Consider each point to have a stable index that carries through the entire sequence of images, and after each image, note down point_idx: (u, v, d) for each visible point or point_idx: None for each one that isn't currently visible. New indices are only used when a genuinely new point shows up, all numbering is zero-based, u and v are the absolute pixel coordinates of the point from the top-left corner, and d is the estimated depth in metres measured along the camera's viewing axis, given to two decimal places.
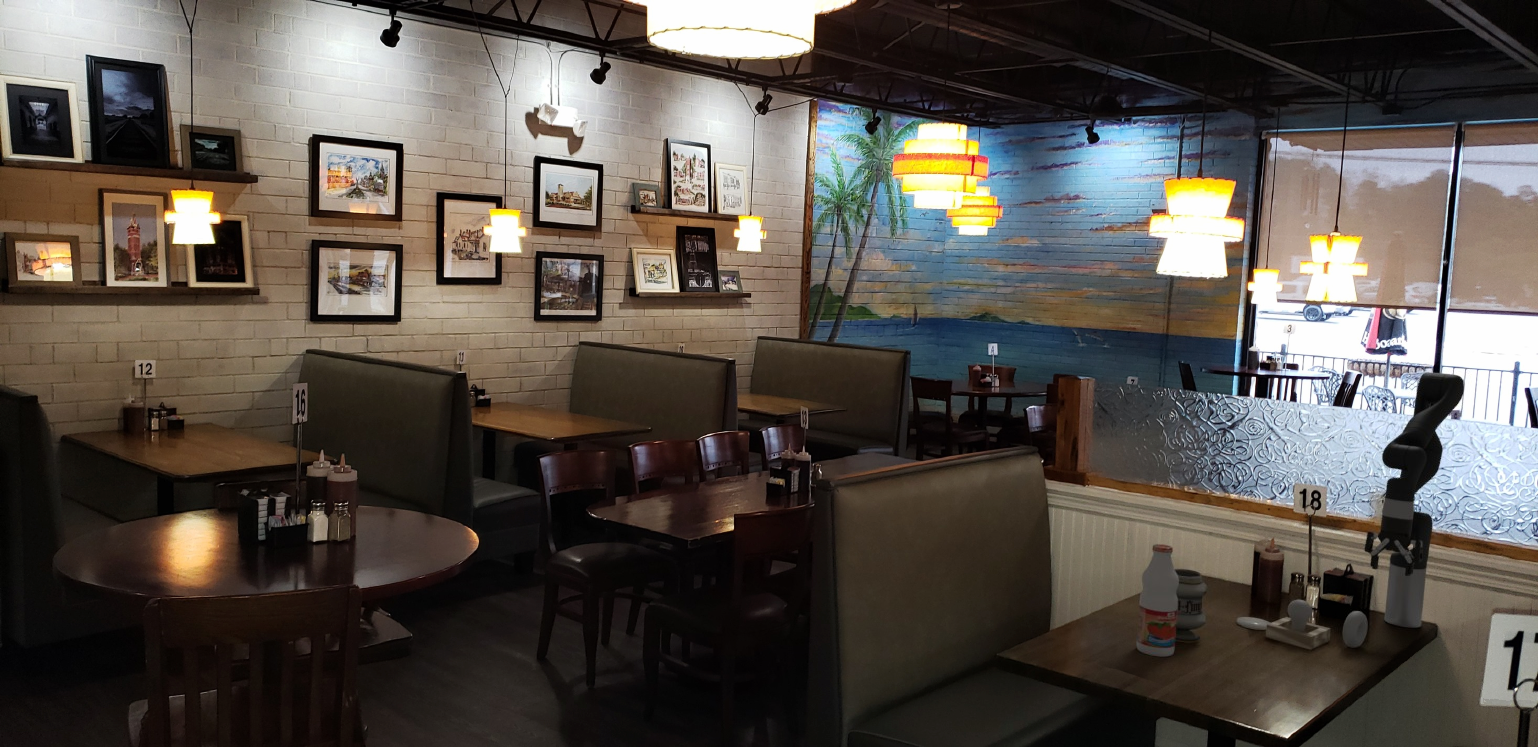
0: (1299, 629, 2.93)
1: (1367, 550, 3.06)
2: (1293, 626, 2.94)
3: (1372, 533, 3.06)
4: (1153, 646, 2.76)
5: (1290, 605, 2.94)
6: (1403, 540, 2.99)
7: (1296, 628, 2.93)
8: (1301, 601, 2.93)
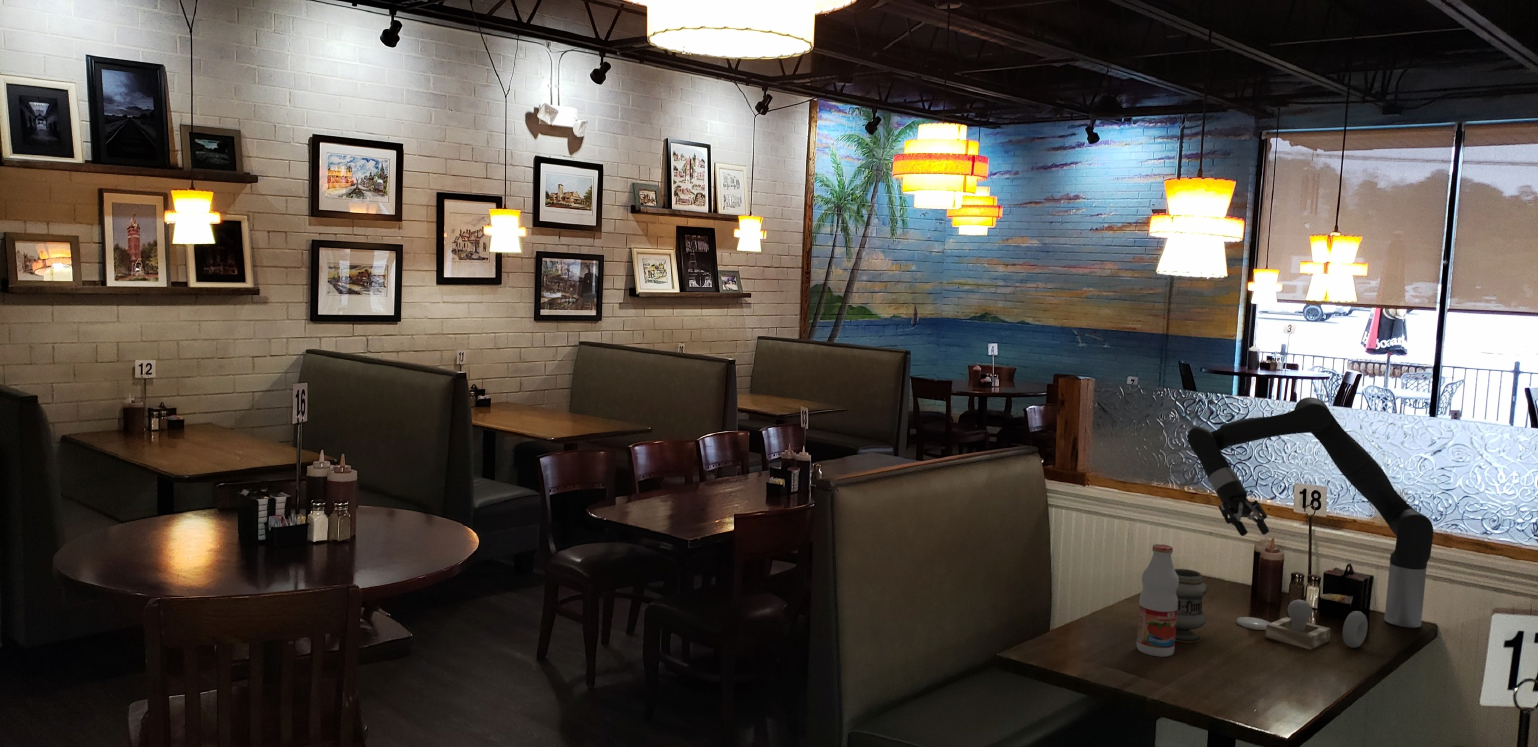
0: (1299, 629, 2.93)
1: None
2: (1293, 626, 2.94)
3: None
4: (1153, 646, 2.76)
5: (1290, 605, 2.94)
6: None
7: (1296, 628, 2.93)
8: (1301, 601, 2.93)
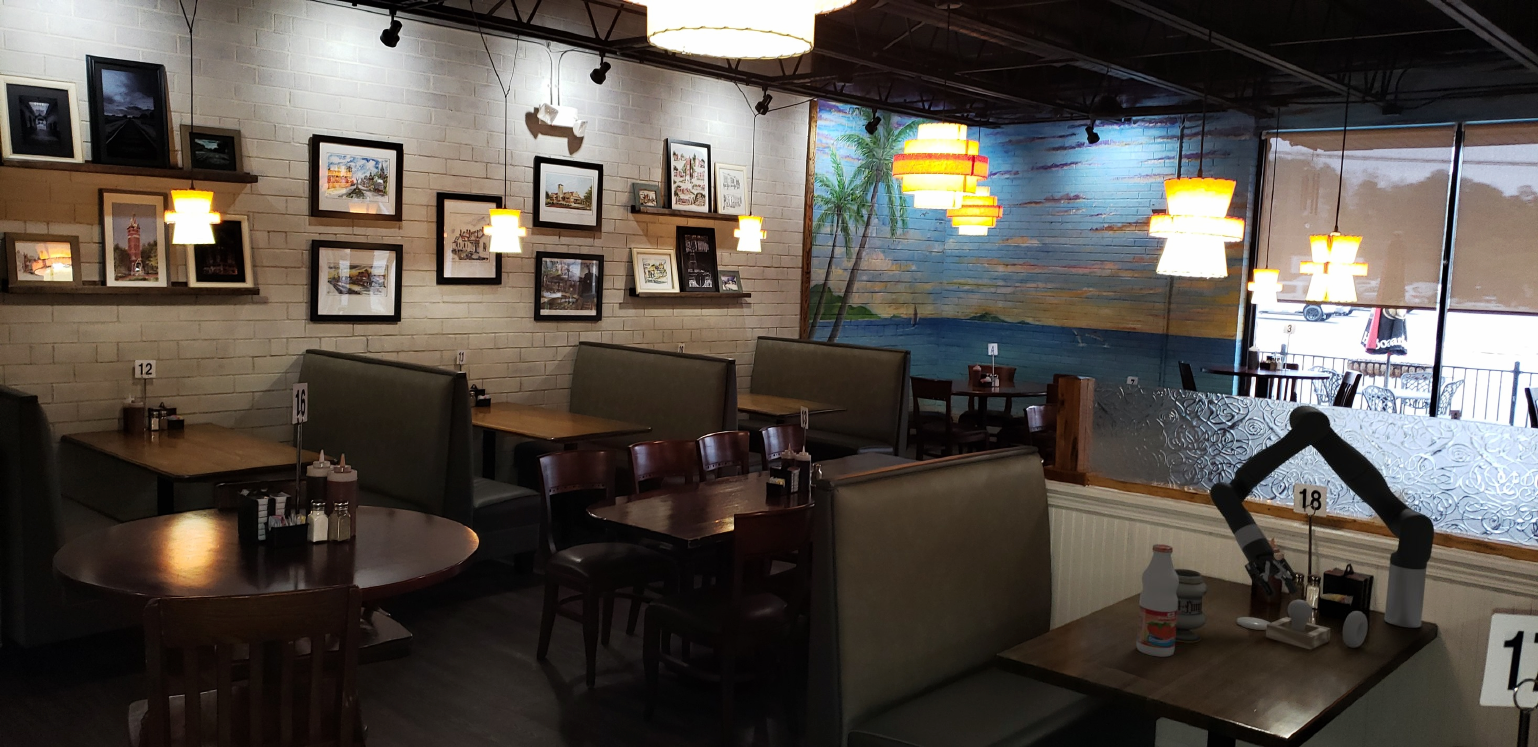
0: (1299, 629, 2.93)
1: None
2: (1293, 626, 2.94)
3: None
4: (1153, 646, 2.76)
5: (1290, 605, 2.94)
6: None
7: (1296, 628, 2.93)
8: (1301, 601, 2.93)
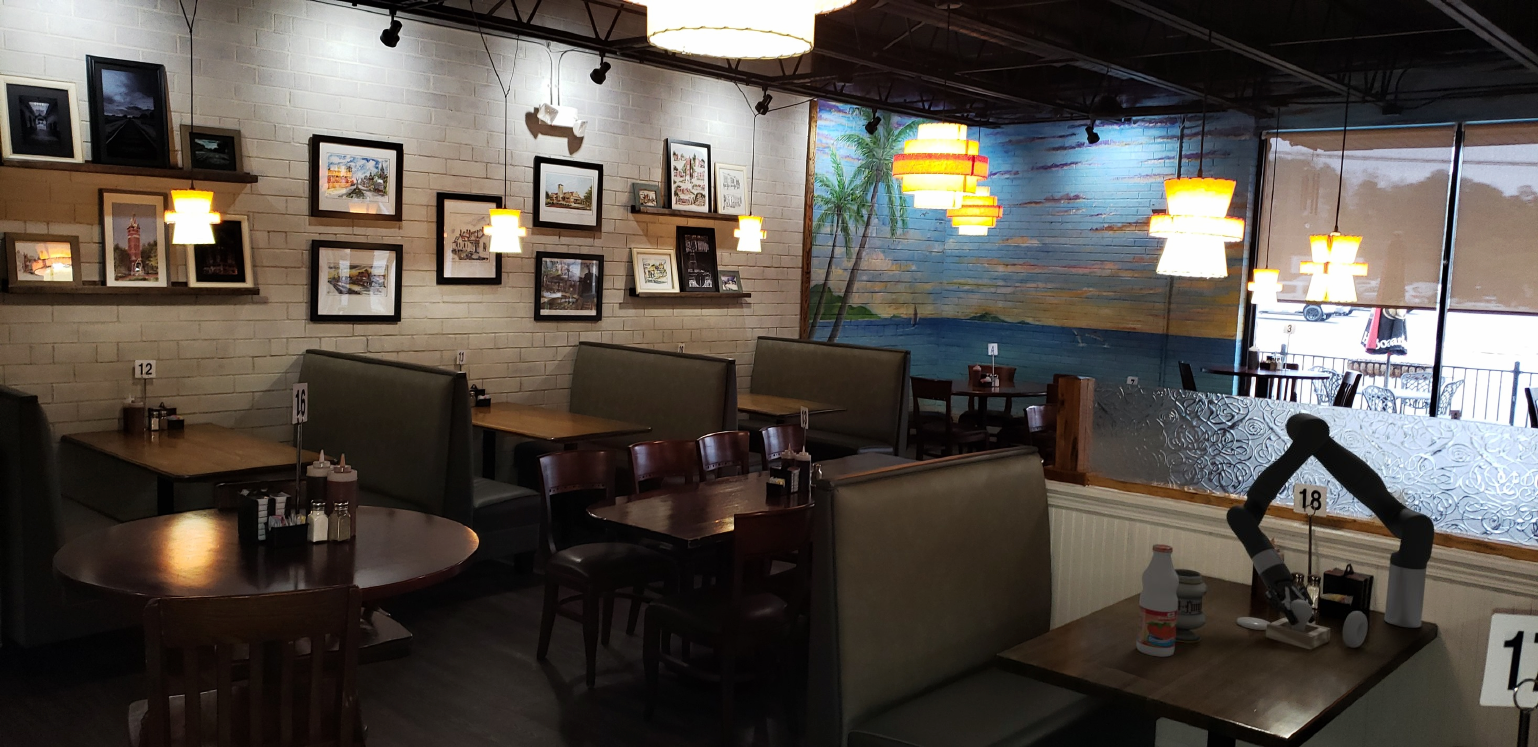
0: (1299, 629, 2.93)
1: None
2: (1293, 626, 2.94)
3: None
4: (1153, 646, 2.76)
5: (1290, 605, 2.94)
6: None
7: (1296, 628, 2.93)
8: (1301, 601, 2.93)
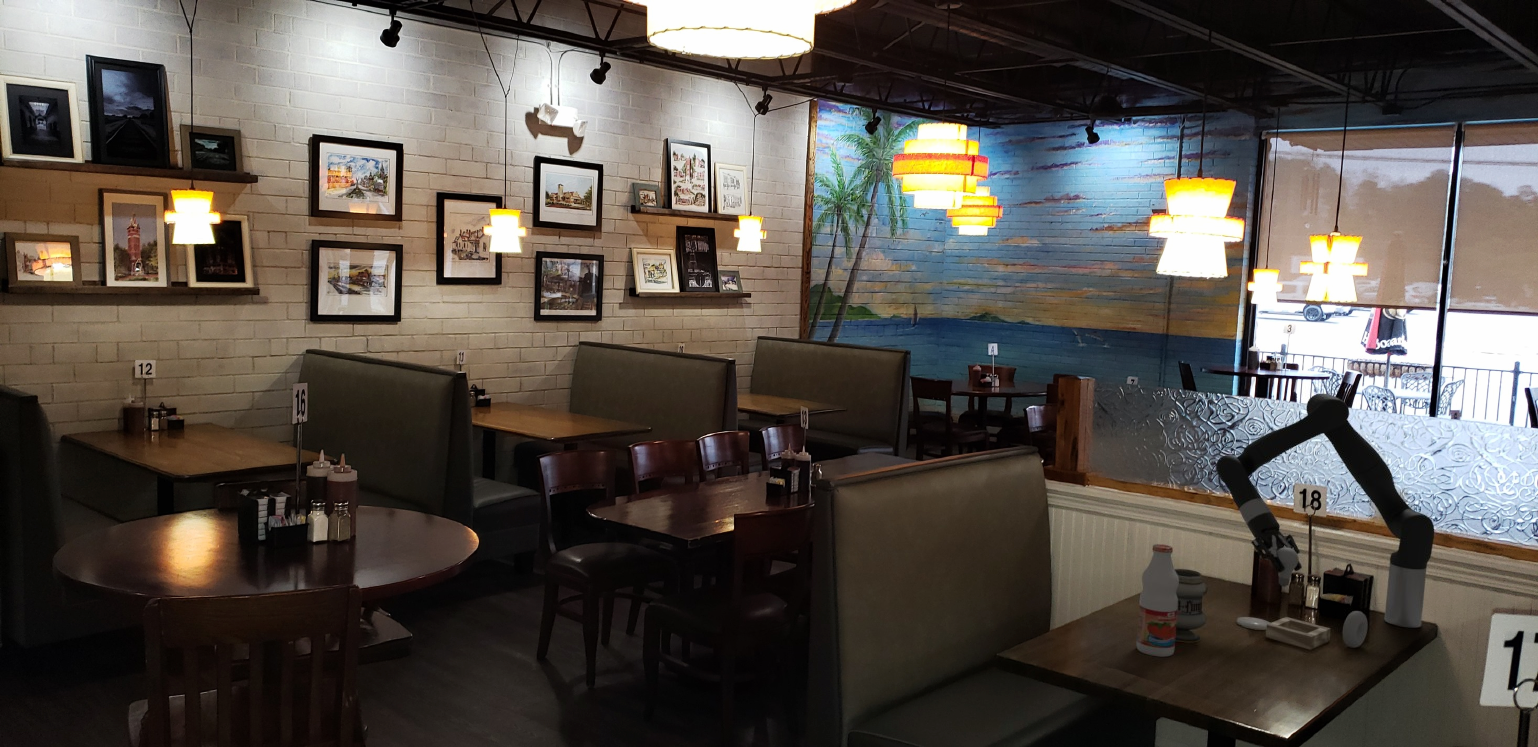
0: (1285, 576, 2.95)
1: None
2: (1279, 573, 2.97)
3: None
4: (1153, 646, 2.76)
5: (1277, 553, 2.96)
6: None
7: (1282, 575, 2.96)
8: (1288, 549, 2.95)
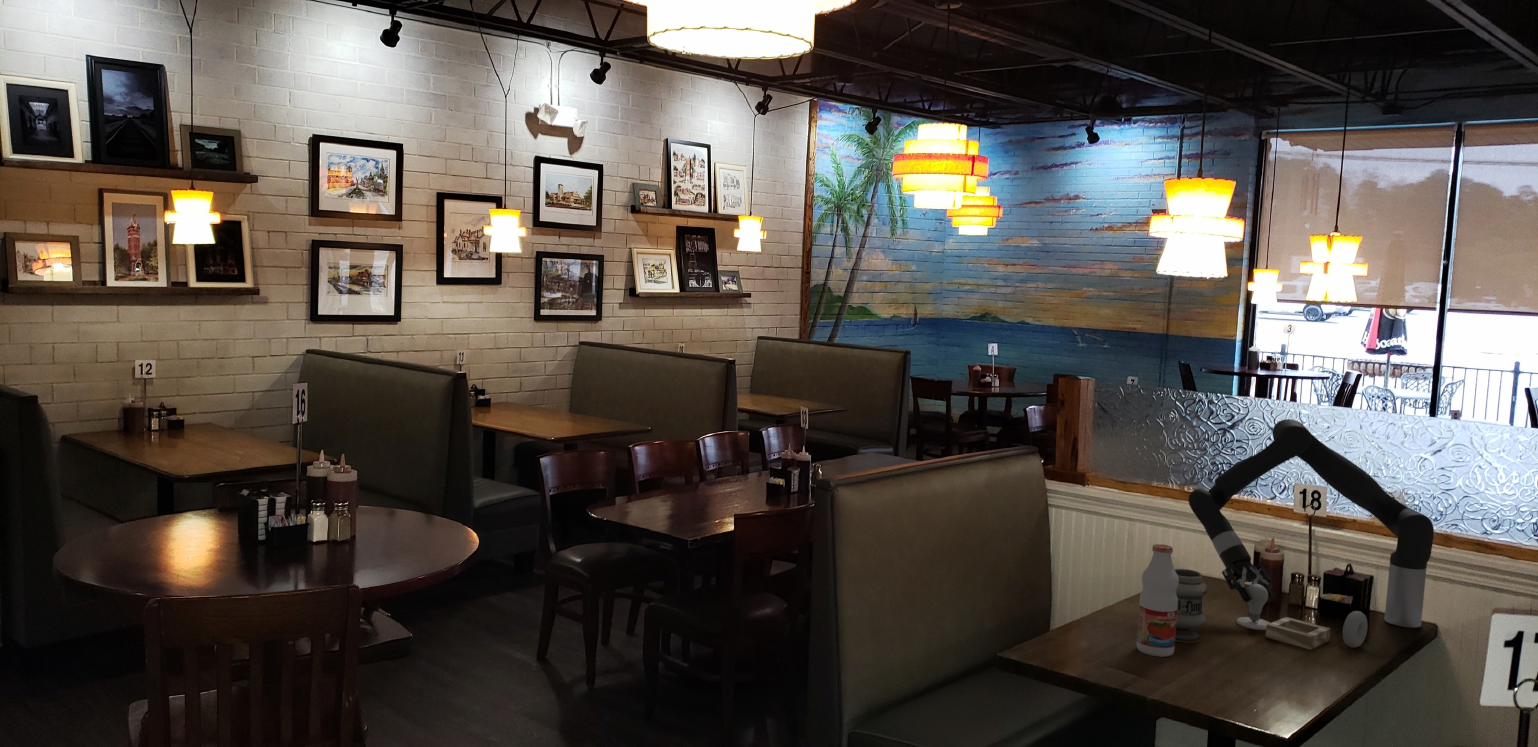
0: (1255, 612, 3.04)
1: None
2: (1250, 609, 3.05)
3: None
4: (1153, 646, 2.76)
5: (1247, 589, 3.05)
6: None
7: (1253, 611, 3.04)
8: (1257, 585, 3.04)
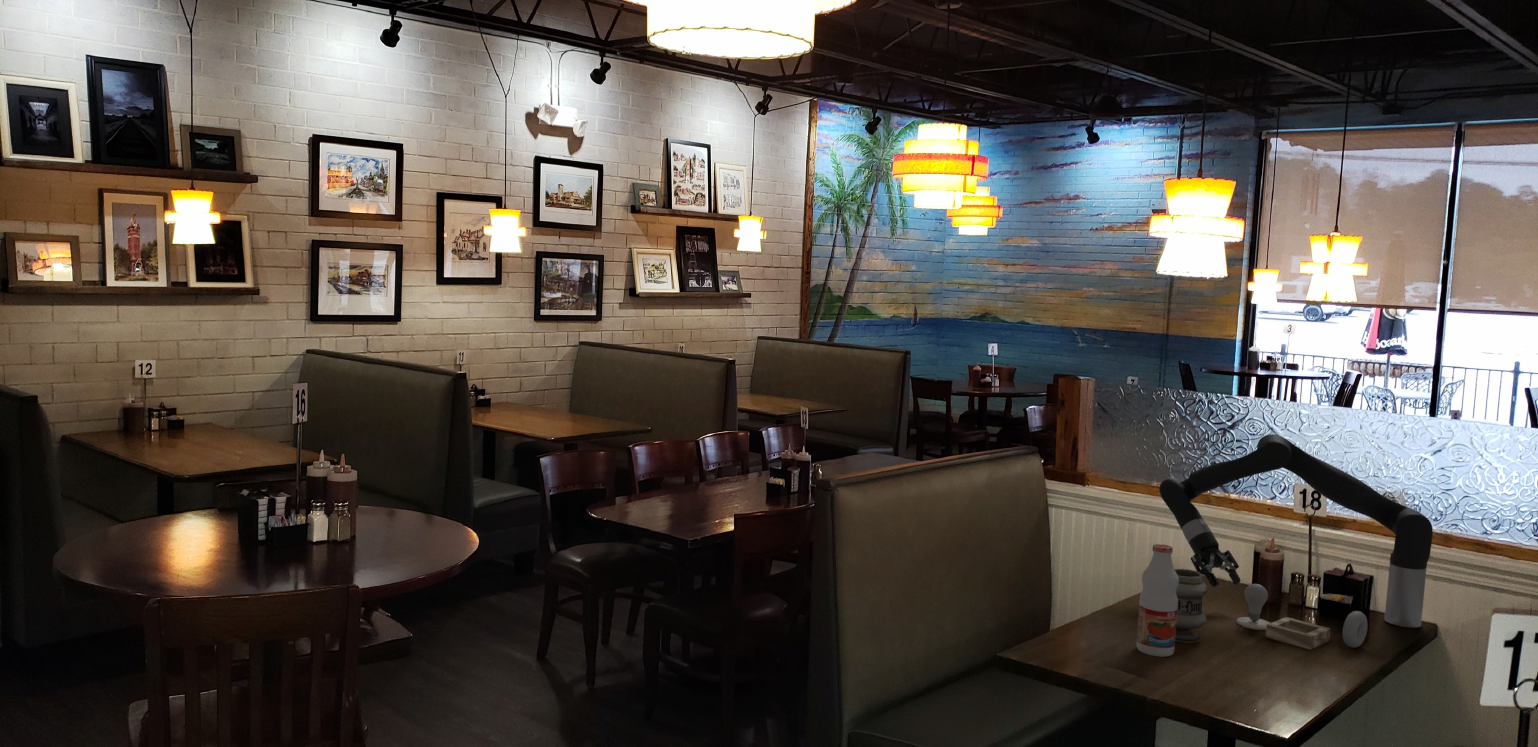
0: (1255, 612, 3.04)
1: None
2: (1250, 609, 3.05)
3: None
4: (1153, 646, 2.76)
5: (1247, 589, 3.05)
6: None
7: (1252, 611, 3.04)
8: (1257, 585, 3.04)
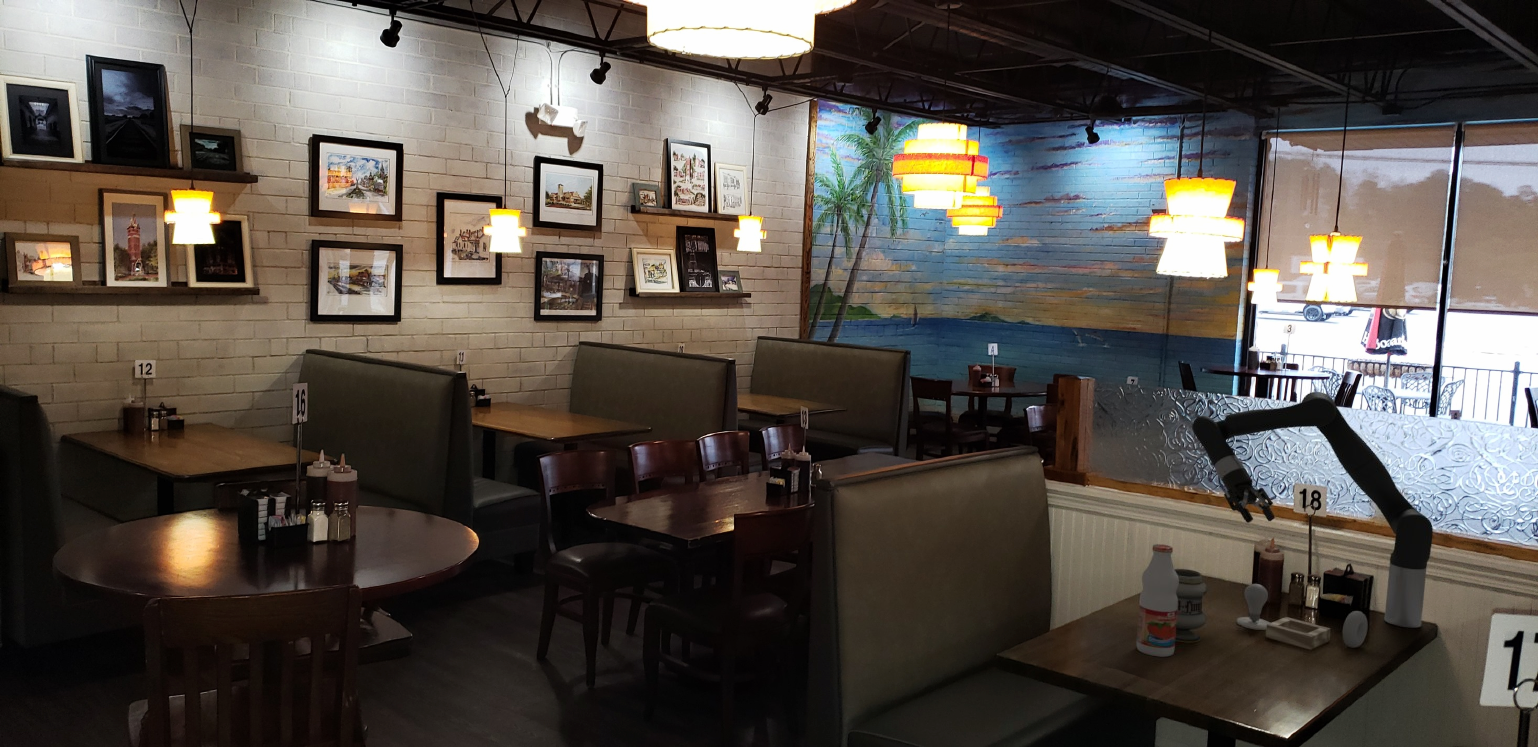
0: (1255, 612, 3.04)
1: None
2: (1250, 609, 3.05)
3: None
4: (1153, 646, 2.76)
5: (1247, 589, 3.05)
6: None
7: (1252, 611, 3.04)
8: (1257, 585, 3.04)
